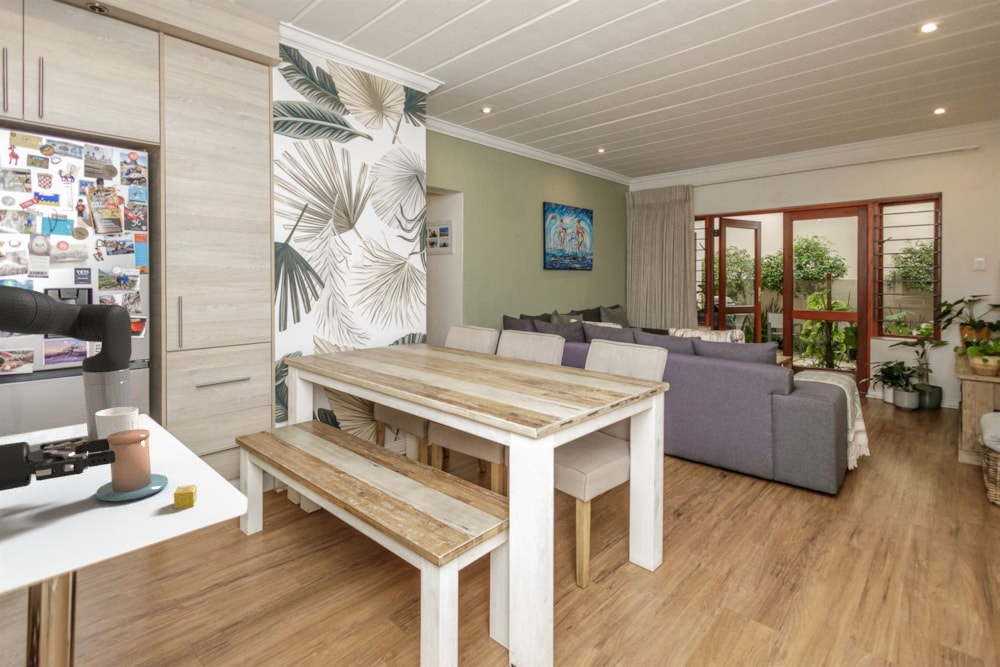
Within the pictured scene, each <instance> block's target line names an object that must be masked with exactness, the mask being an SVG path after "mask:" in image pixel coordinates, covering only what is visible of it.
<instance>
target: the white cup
mask: <svg viewBox="0 0 1000 667" xmlns="http://www.w3.org/2000/svg"><path fill="white" fill-rule="evenodd" d="M95 419H96V427H97V434H98V440H99V439H106V438H107V437H108V436H109V435H111V434H113V433H117V432H121V431H126V430H134V429H140V428H139V422H140V421H139V408H138V407H135V406H132V407H117V408H110V409H105V410H101V411H98V412H96V413H95ZM108 451H109V450H108ZM101 452H103V451H101Z"/></svg>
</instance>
